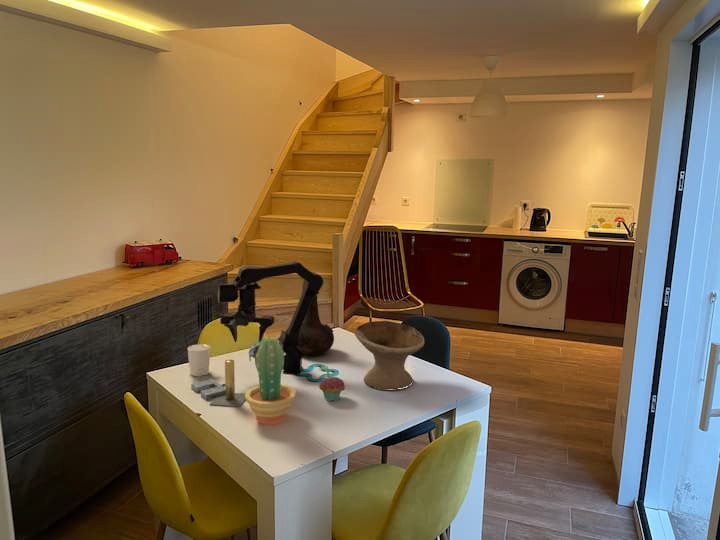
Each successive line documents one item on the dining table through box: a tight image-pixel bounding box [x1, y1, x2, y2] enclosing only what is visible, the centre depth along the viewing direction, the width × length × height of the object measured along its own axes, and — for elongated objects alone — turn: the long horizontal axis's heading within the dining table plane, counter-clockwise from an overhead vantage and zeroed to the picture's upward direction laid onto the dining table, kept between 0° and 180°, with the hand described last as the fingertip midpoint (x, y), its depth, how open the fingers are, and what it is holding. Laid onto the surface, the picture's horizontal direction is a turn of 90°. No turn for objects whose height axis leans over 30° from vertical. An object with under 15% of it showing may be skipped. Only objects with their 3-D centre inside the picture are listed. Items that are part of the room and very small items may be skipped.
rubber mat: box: [209, 392, 246, 408], centre depth 174 cm, size 10×10×1 cm
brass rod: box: [224, 359, 236, 401], centre depth 173 cm, size 3×3×13 cm
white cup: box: [187, 344, 211, 377], centre depth 197 cm, size 8×8×10 cm
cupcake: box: [318, 364, 346, 401], centre depth 176 cm, size 9×8×12 cm
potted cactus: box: [244, 337, 296, 426], centre depth 159 cm, size 15×15×25 cm
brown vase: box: [298, 291, 335, 357], centre depth 222 cm, size 18×18×28 cm
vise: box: [190, 378, 225, 401], centre depth 181 cm, size 10×12×2 cm
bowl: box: [354, 320, 425, 390], centre depth 191 cm, size 26×25×20 cm
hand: (247, 342), depth 193 cm, fingers open, 9 cm apart
